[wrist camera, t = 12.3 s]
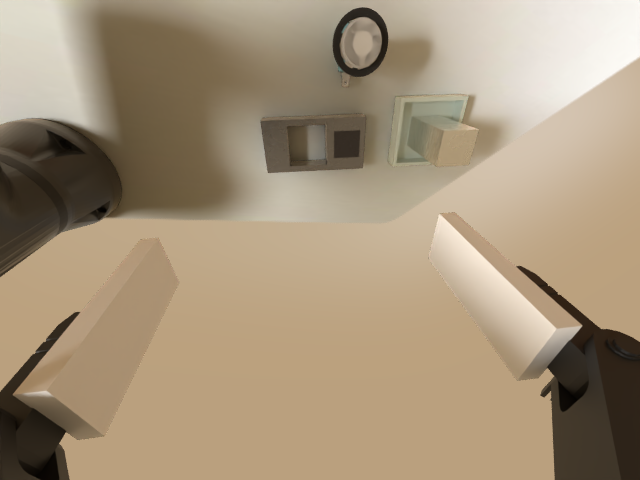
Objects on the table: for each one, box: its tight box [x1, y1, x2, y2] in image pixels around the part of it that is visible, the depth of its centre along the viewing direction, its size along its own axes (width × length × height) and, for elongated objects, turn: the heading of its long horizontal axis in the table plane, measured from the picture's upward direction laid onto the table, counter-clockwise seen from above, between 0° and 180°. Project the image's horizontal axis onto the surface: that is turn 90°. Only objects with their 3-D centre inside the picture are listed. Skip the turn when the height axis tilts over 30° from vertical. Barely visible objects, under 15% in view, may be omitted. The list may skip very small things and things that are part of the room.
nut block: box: [407, 115, 479, 167], centre depth 34 cm, size 4×4×10 cm
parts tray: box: [388, 94, 469, 167], centre depth 38 cm, size 9×9×2 cm
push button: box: [333, 7, 388, 87], centre depth 29 cm, size 7×5×10 cm
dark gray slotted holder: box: [261, 114, 366, 173], centre depth 37 cm, size 14×7×3 cm, turn 91°
